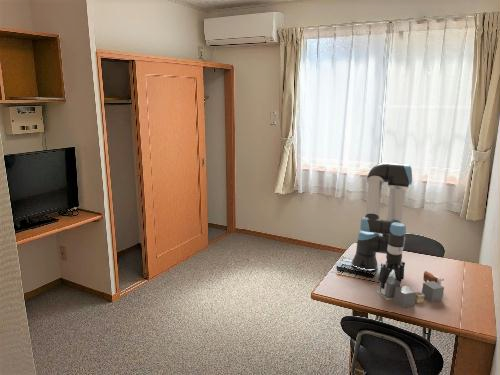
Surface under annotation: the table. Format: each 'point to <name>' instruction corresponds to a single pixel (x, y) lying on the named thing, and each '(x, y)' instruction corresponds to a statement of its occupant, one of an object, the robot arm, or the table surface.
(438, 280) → the bull figurine
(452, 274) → the table surface
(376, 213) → the robot arm
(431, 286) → the grey cube
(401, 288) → the grey block
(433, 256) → the table surface
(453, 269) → the table surface
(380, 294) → the mat
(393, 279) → the grey box
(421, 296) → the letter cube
